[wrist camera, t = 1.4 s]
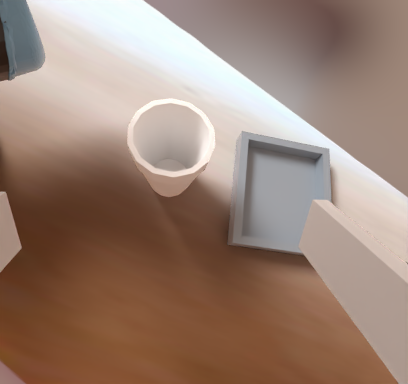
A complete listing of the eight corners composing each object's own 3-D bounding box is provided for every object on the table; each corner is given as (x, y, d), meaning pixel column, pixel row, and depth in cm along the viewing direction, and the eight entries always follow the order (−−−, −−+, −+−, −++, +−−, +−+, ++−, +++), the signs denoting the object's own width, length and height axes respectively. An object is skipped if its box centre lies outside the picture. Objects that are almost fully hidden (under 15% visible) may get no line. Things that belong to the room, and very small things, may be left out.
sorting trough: (227, 244, 37) (232, 242, 34) (236, 140, 42) (242, 131, 39) (321, 258, 38) (333, 257, 36) (318, 156, 44) (329, 148, 41)
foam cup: (209, 173, 40) (231, 132, 27) (175, 218, 36) (182, 194, 24) (163, 140, 40) (163, 84, 28) (125, 182, 37) (107, 139, 25)
